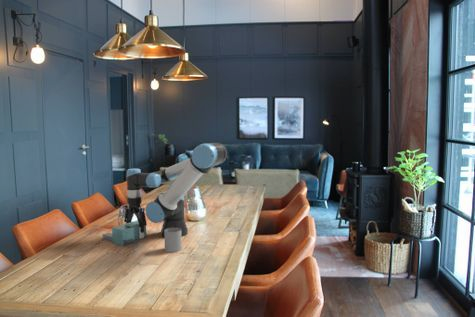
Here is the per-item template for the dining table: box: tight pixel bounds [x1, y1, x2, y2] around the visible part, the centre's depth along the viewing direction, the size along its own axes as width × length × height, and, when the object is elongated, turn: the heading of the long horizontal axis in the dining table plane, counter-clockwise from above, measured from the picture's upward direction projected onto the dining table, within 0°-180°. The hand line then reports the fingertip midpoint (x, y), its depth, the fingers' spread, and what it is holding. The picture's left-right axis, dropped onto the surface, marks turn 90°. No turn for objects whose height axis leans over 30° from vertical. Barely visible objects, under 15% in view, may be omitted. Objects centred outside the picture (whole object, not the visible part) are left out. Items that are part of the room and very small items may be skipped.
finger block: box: [124, 220, 147, 241], centre depth 222 cm, size 10×7×8 cm
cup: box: [163, 228, 183, 253], centre depth 200 cm, size 8×8×10 cm
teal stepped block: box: [102, 224, 135, 247], centre depth 215 cm, size 20×7×8 cm, turn 53°
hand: (135, 236), depth 223 cm, fingers open, 9 cm apart
